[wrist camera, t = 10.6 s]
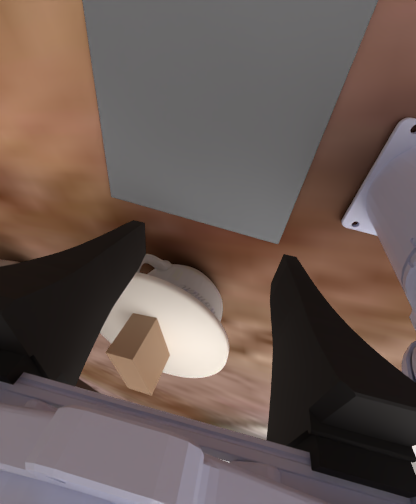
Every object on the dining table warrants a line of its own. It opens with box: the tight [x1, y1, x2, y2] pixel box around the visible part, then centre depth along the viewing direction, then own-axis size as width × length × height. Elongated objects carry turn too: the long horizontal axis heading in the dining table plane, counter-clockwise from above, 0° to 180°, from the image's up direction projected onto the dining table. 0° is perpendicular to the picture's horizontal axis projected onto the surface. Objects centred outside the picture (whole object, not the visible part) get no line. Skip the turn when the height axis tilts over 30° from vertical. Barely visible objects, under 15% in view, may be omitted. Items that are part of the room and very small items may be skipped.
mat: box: [82, 0, 378, 244], centre depth 18 cm, size 18×17×1 cm
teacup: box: [137, 254, 223, 321], centre depth 26 cm, size 14×11×8 cm
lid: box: [100, 272, 229, 395], centre depth 22 cm, size 15×15×5 cm
